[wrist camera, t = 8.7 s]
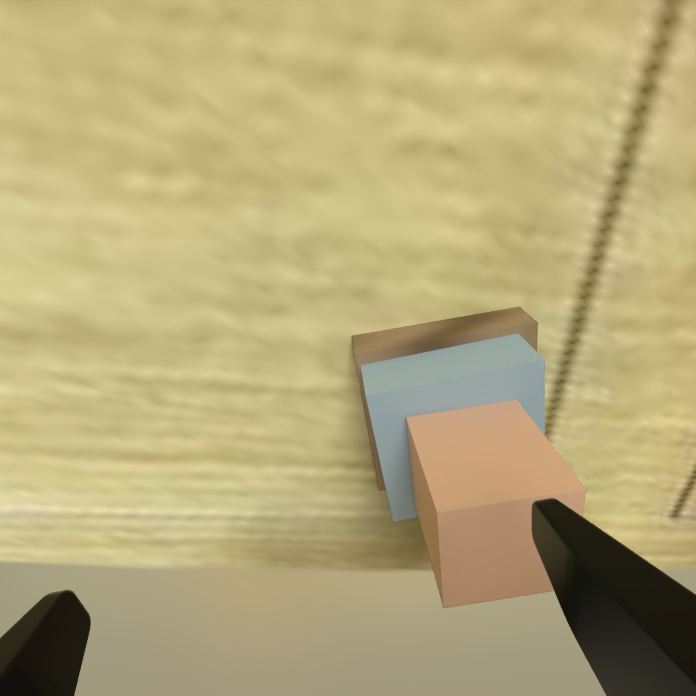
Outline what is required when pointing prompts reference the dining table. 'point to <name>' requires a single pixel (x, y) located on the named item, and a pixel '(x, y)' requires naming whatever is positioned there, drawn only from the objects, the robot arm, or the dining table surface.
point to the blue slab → (445, 397)
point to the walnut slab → (435, 346)
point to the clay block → (485, 498)
